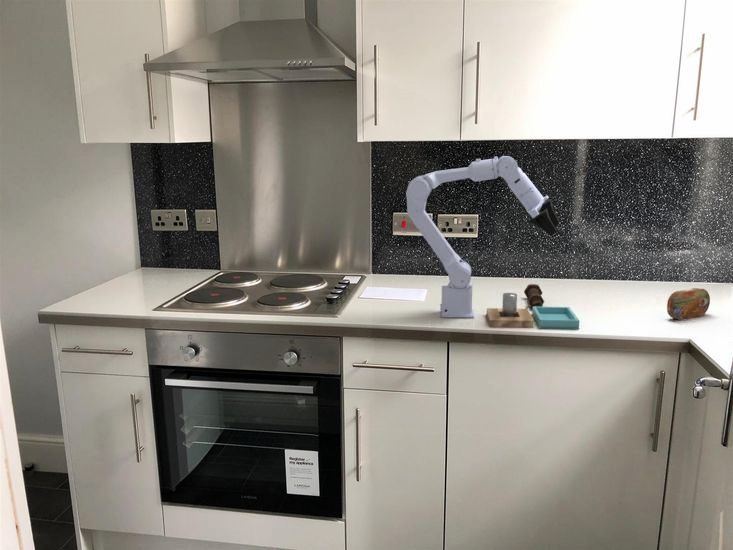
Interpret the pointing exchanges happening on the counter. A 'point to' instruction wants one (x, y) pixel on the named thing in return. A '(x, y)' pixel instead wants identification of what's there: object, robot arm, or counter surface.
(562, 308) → the tray
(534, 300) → the bolt
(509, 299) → the pin
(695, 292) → the tin
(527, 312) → the wooden socket board
